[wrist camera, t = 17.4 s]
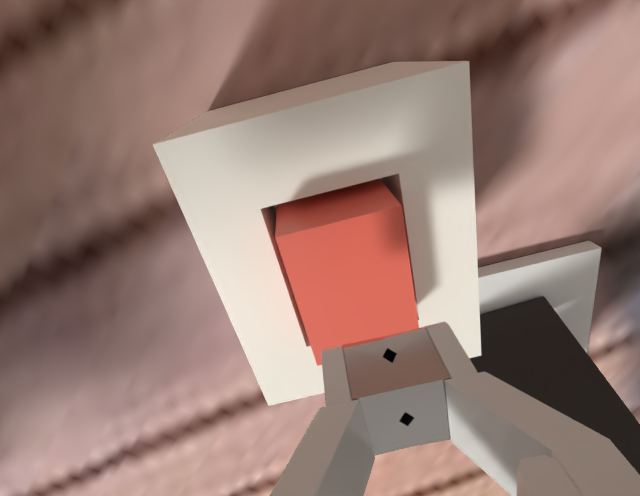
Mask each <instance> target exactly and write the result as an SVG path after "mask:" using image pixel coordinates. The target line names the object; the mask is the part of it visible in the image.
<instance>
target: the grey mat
mask: <svg viewBox="0 0 640 496" xmlns="http://www.w3.org/2000/svg"><path fill="white" fill-rule="evenodd" d="M601 249H602V248H601V247H599V246H598V245H596V244H594V243H593V242H591V241H585V242H581V243H577V244H573V245H568V246H564V247H560V248H556V249H552V250H548V251H544V252H540V253H536V254H532V255H528V256H524V257H519V258H515V259H511V260H507V261H503V262H499V263H495V264H491V265H487V266H483V267H479V268H478V286H479V310H480V314H483V313H486V312H490V311H493V310H497V309H500V308H504V307H507V306H510V305H514V304H517V303H521V302H524V301H528V300H531V299H534V298H538V297H541V296H544V297H545V298H546V299H547V301H548V302H549V303H550V305H551V306H552V307H553V309H554V310H555V311H556V313H557V314H558V315H559V317H560V318H561V319H562V321H563V322H564V323H565V325H566V326H567V327H568V329H569V330H570V331H571V333H572V334H573V335H574V337H575V338H576V339H577V341H578V342H579V344H580V345H581V346H582V348H583V349H584V350H585V352H586V353H587V349H588V342H589V335H590V328H591V321H592V313H593V306H594V299H595V292H596V285H597V277H598V270H599V263H600V256H601Z"/></svg>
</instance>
